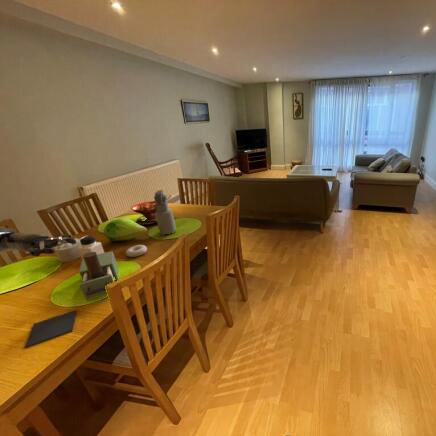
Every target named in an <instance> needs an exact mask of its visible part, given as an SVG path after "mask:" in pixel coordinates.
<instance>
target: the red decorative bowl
mask: <svg viewBox="0 0 436 436" xmlns="http://www.w3.org/2000/svg"><path fill="white" fill-rule="evenodd" d="M171 197H172V196H171V195H169V196H168V197H167V201H169V200H170V198H171ZM155 205H156V202H155V200H150V201H145V202H140V203H137V204H134V205H132V206H131V208H130V210H132V211H133V212H134V213H137V214H140V215H142V216H139V217H138V218H136V221H134V222H135V223H137V224H139V225H149V224H154V223H157V219H156V215H155V213H156V210H155ZM156 209H157V206H156ZM145 218H147V219H146V220H145V221H142V220H143V219H145Z"/></svg>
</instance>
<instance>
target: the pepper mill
mask: <svg viewBox="0 0 436 436" xmlns="http://www.w3.org/2000/svg"><path fill="white" fill-rule="evenodd" d="M83 259H84V261H85V264H86V266H87V269H88V272H89V274H90V277H91V279H92V280H93V279H96V278H100V277H103V276H104V273H103V270H102V268H101V265H100V262H99V259H98V257H97V254H96V252H89V253H86V254H84V255H83Z"/></svg>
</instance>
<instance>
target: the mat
mask: <svg viewBox="0 0 436 436" xmlns="http://www.w3.org/2000/svg"><path fill="white" fill-rule="evenodd" d="M77 311H78V310H77V309H74V310H71V311H68V312H65V313H62V314H59V315H55V316H53V317H50V318H47V319H43V320H40V321H38V322H34V323H33V324H32V327H31V330H30V332H29V334H28V337H27V340H26V342H25V345H24V348H25V349H27V348H29V347H33V346H35V345H38V344H41V343H43V342H46V341H49V340H52V339H55V338H58V337H60V336H64V335H66V334H69V333H72V332H73V331H74V326H75V322H76V316H77Z"/></svg>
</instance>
